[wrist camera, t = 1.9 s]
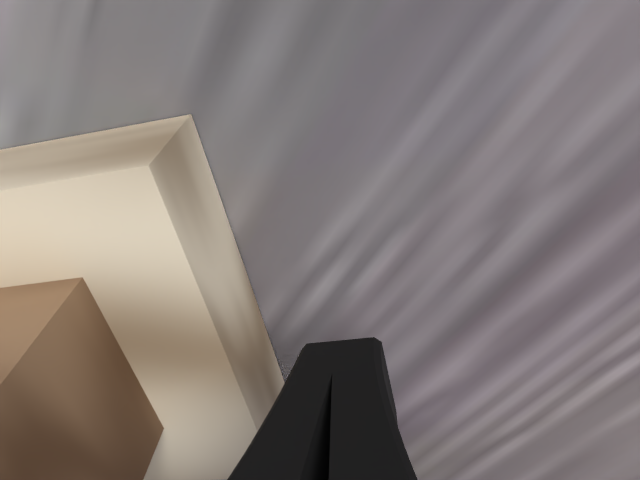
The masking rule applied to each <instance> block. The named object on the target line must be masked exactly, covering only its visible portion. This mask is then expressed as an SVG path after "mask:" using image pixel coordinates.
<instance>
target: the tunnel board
mask: <svg viewBox="0 0 640 480" xmlns="http://www.w3.org/2000/svg"><path fill="white" fill-rule="evenodd" d="M80 277H83V279H84V281H85V282H86V284H87V286H88V288H89V290H90V292H91V294H92V295H93V297H94V299H95V301H96V303H97V305H98V307H99V308H100V310H101V312H102V314H103V316H104V318H105V320H106V321H107V323H108V325H109V327H110V329H111V331H112V333H113V334H114V336H115V338H116V340H117V342H118V344H119V346H120V347H121V349H122V351H123V353H124V355H125V357H126V359H127V360H128V362H129V364H130V366H131V368H132V370H133V372H134V373H135V375H136V377H137V379H138V381H139V383H140V385H141V386H142V388H143V390H144V392H145V394H146V396H147V397H148V399H149V401H150V403H151V405H152V407H153V409H154V410H155V412H156V414H157V416H158V418H159V420H160V422H161V423H162V425H163V427H164V430H163V432H162V435H161V437H160V440H159V442H158V445H157V447H156V450H155V452H154V454H153V457H152V459H151V462H150V464H149V467H148V469H147V472H146V474H145V477H144V479H143V480H222V479H228V478H229V476H230V475H231V473H232V471H233V470H234V468H235V467H236V465H237V464H238V462H239V461H240V459H241V458H242V456H243V455H244V453H245V452H246V450H247V448H248V447H249V445H250V443H251V442H252V440H253V438H254V437H255V435H256V433H257V432H258V430H259V428H260V426H261V425H262V423H263V421H264V420H265V418H266V416H267V415H268V413H269V411H270V409H271V408H272V406H273V404H274V402H275V400H276V399H277V397H278V395H279V393H280V391H281V389H282V388H283V386H284V384H285V382H284V379H283V376H282V373H281V370H280V368H279V365H278V362H277V359H276V356H275V353H274V350H273V348H272V345H271V342H270V339H269V336H268V333H267V330H266V327H265V325H264V322H263V319H262V316H261V313H260V310H259V307H258V304H257V302H256V299H255V296H254V293H253V290H252V287H251V284H250V282H249V279H248V276H247V273H246V270H245V267H244V264H243V261H242V259H241V256H240V253H239V250H238V247H237V244H236V241H235V238H234V236H233V233H232V230H231V227H230V224H229V221H228V218H227V216H226V213H225V210H224V207H223V204H222V201H221V198H220V195H219V193H218V190H217V187H216V184H215V181H214V178H213V175H212V172H211V170H210V167H209V164H208V161H207V158H206V155H205V152H204V150H203V147H202V144H201V141H200V138H199V135H198V132H197V129H196V127H195V124H194V121H193V118H192V115H191V114H190V115H184V116H179V117H174V118H168V119H163V120H158V121H152V122H147V123H141V124H136V125H131V126H125V127H120V128H115V129H109V130H104V131H99V132H93V133H88V134H82V135H77V136H72V137H66V138H61V139H56V140H50V141H45V142H40V143H34V144H29V145H23V146H18V147H13V148H7V149H2V150H0V288H3V287H11V286H19V285H26V284H34V283H42V282H49V281H57V280H65V279H72V278H80Z"/></svg>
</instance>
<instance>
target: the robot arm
mask: <svg viewBox="0 0 640 480" xmlns="http://www.w3.org/2000/svg"><path fill="white" fill-rule="evenodd" d="M227 480H417V477H416V475H415V472H414V470H413V467H412V465H411V462H410V460H409V457H408V455H407V452H406V449H405V447H404V444H403V441H402V438H401V435H400V432H399V429H398V425H397V415H396V408H395V404H394V399H393V394H392V389H391V385H390V380H389V375H388V370H387V366H386V361H385V356H384V351H383V347H382V342H381V341H379V340H378V339H376V338H374V337H373V338H362V339H352V340H341V341H331V342H320V343H310V344H306V345H305V346H304V348H303V349H302V350H301V352H300V354H299V356H298V358H297V360H296V362H295V364H294V366H293V368H292V370H291V372H290V374H289V376H288V378H287V380H286V382H285V384H284V386H283V388H282V389H281V391H280V393H279V395H278V397H277V399H276V400H275V402H274V404H273V406H272V408H271V409H270V411H269V413H268V415H267V416H266V418H265V420H264V421H263V423H262V425H261V426H260V428H259V430H258V432H257V433H256V435H255V437H254V438H253V440H252V442H251V443H250V445H249V447H248V448H247V450H246V452H245V453H244V455H243V456H242V458H241V459H240V461H239V462H238V464H237V465H236V467H235V468H234V470H233V471H232V473H231V475H230V476H229V478H228V479H227Z"/></svg>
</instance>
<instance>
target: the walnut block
mask: <svg viewBox="0 0 640 480" xmlns="http://www.w3.org/2000/svg"><path fill="white" fill-rule="evenodd" d="M163 430H164V427H163V425H162V423H161V422H160V420H159V418H158V416H157V414H156V412H155V410H154V409H153V407H152V405H151V403H150V401H149V399H148V397H147V396H146V394H145V392H144V390H143V388H142V386H141V385H140V383H139V381H138V379H137V377H136V375H135V373H134V372H133V370H132V368H131V366H130V364H129V362H128V360H127V359H126V357H125V355H124V353H123V351H122V349H121V347H120V346H119V344H118V342H117V340H116V338H115V336H114V334H113V333H112V331H111V329H110V327H109V325H108V323H107V321H106V320H105V318H104V316H103V314H102V312H101V310H100V308H99V307H98V305H97V303H96V301H95V299H94V297H93V295H92V294H91V292H90V290H89V288H88V286H87V284H86V282H85V281H84V279H83V277H80V278H72V279H65V280H57V281H49V282H42V283H34V284H26V285H19V286H11V287H3V288H0V480H143V479H144V477H145V474H146V472H147V469H148V467H149V464H150V462H151V459H152V457H153V454H154V452H155V450H156V447H157V445H158V442H159V440H160V437H161V435H162V432H163Z"/></svg>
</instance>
